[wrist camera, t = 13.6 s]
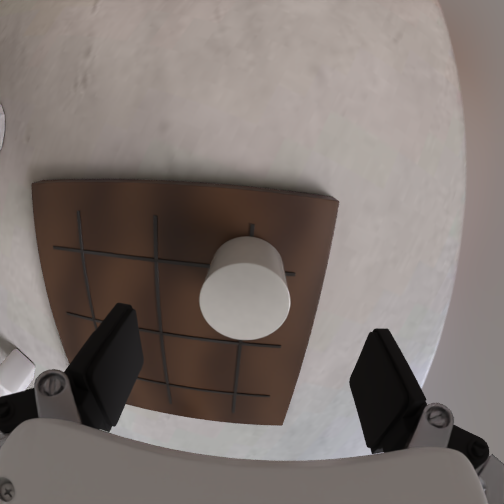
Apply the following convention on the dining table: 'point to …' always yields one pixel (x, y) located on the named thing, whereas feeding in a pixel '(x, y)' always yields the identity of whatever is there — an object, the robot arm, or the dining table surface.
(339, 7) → the dining table surface
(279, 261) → the white cylinder
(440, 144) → the dining table surface
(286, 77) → the dining table surface
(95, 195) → the board
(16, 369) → the pepper shaker
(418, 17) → the dining table surface
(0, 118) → the white cup
